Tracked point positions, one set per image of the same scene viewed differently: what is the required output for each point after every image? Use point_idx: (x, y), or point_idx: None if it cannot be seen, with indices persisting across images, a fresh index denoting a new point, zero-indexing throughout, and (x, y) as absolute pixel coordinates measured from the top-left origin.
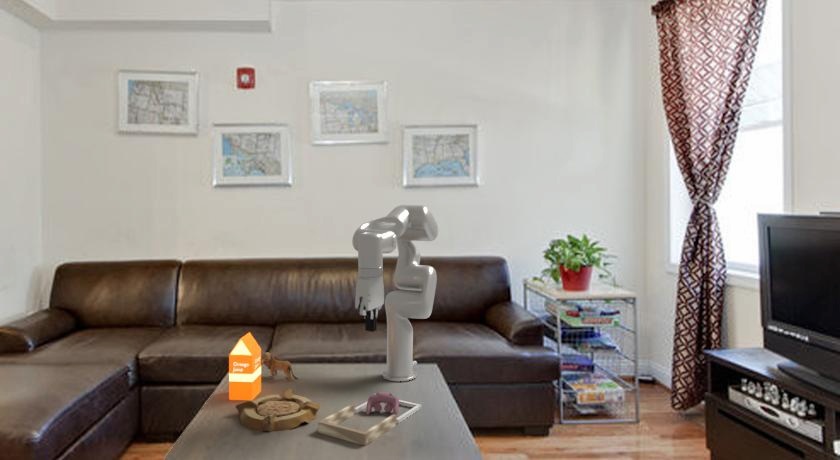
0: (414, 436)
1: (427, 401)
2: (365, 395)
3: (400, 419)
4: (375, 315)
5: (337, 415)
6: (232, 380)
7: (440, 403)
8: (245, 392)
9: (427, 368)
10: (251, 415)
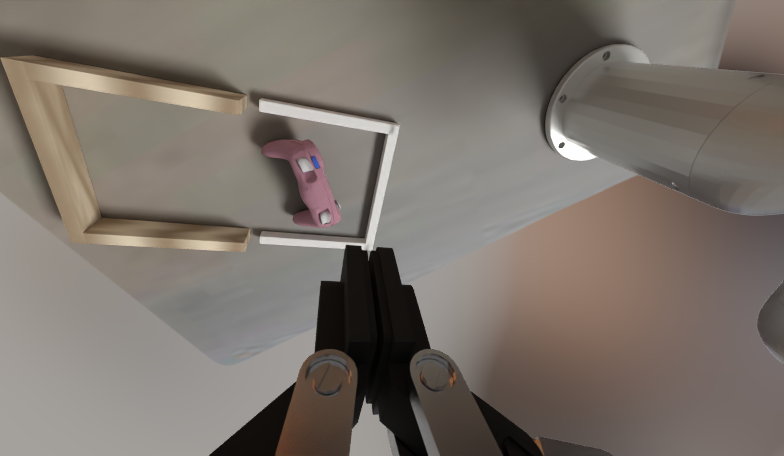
0: (220, 286)
1: (418, 240)
2: (413, 68)
3: (269, 242)
4: (391, 440)
5: (127, 95)
6: None
7: (414, 265)
8: None
9: None
10: None
